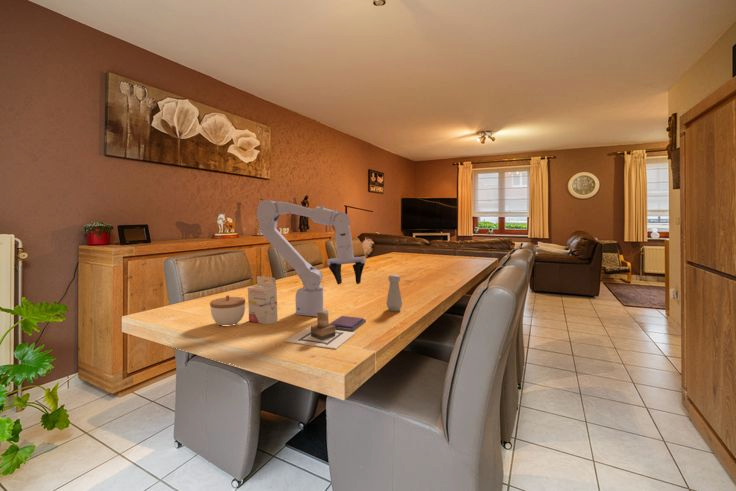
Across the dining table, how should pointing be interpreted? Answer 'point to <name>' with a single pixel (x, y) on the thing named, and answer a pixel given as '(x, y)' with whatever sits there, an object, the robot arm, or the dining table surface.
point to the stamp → (322, 327)
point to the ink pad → (348, 323)
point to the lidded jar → (228, 310)
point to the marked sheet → (332, 343)
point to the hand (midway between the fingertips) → (348, 283)
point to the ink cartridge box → (263, 301)
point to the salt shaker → (394, 294)
